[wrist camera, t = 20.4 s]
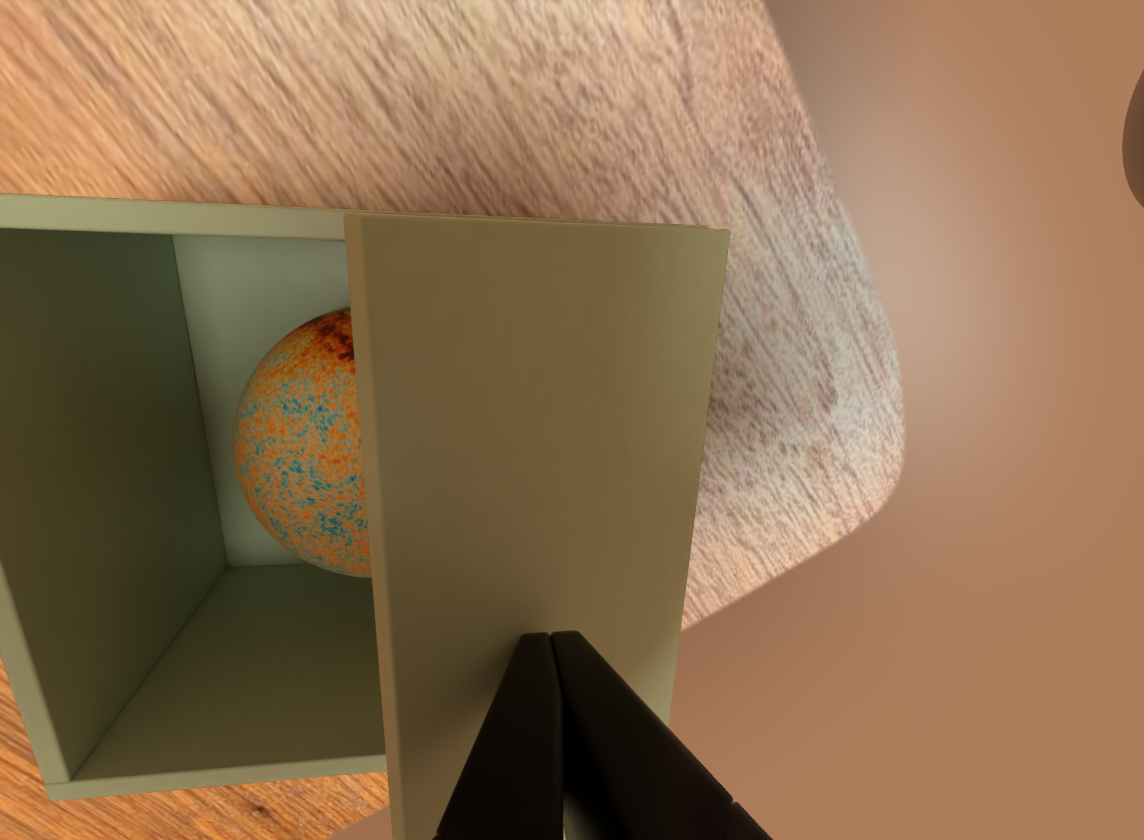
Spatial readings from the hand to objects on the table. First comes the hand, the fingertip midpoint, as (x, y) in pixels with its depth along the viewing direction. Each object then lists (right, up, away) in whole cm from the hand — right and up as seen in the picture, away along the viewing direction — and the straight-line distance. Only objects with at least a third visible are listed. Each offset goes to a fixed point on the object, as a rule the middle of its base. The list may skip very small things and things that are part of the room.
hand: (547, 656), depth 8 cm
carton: (-5, +4, +11) cm, 12 cm away
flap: (0, 0, +1) cm, 1 cm away
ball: (-5, +4, +10) cm, 12 cm away
